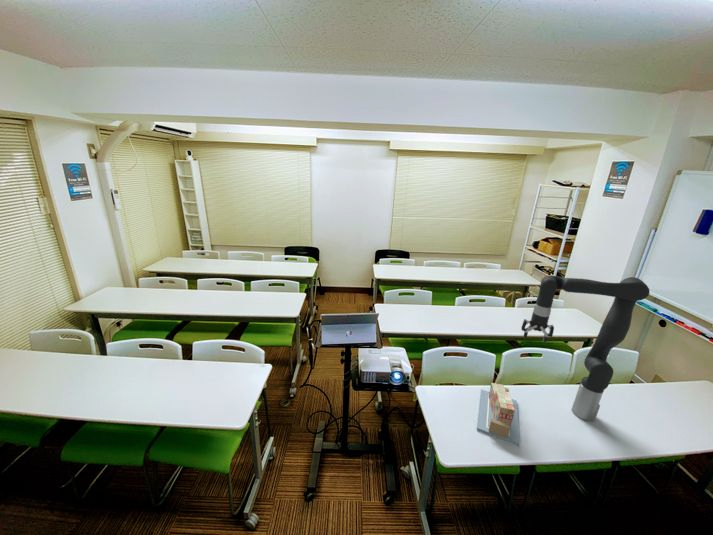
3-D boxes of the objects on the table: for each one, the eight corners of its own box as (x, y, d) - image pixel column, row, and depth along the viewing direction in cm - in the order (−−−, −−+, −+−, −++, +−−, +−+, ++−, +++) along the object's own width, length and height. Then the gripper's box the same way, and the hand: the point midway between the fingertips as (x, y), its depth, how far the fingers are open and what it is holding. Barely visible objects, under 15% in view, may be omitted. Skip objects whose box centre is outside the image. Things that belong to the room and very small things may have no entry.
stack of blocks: (488, 396, 158) (492, 377, 154) (500, 399, 156) (505, 380, 153) (495, 427, 138) (500, 406, 134) (509, 430, 136) (515, 409, 133)
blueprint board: (516, 402, 156) (519, 391, 154) (519, 445, 130) (522, 433, 128) (480, 390, 163) (483, 380, 161) (476, 429, 138) (479, 417, 135)
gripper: (556, 313, 152) (548, 340, 156) (525, 307, 157) (519, 333, 162) (558, 319, 145) (550, 347, 150) (526, 312, 151) (519, 339, 156)
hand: (534, 340), depth 156 cm, fingers open, 8 cm apart
